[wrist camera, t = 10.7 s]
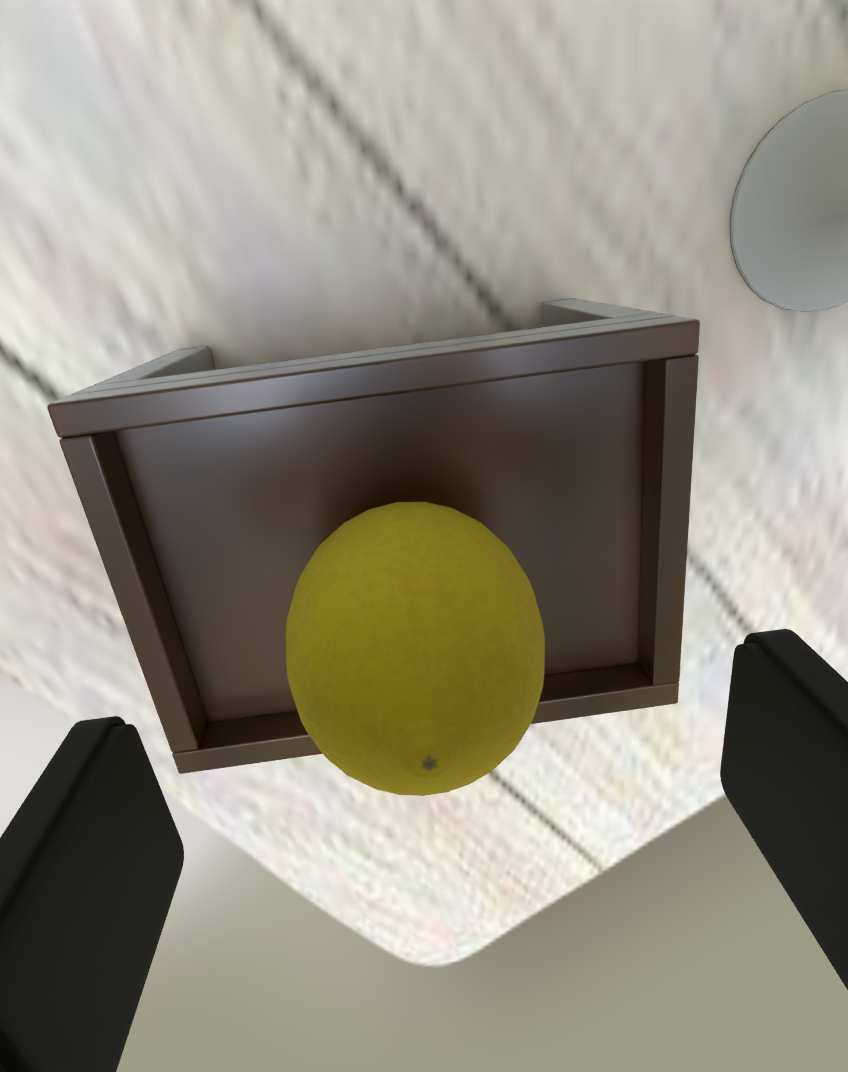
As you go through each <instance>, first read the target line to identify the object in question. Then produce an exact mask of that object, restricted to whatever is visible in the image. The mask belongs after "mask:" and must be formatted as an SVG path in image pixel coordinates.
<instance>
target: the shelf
mask: <svg viewBox="0 0 848 1072" xmlns="http://www.w3.org/2000/svg"><path fill="white" fill-rule="evenodd" d="M542 322H543V327H542V328H534V329H526V330H518V331H511V332H503V333H495V334H488V335H480V336H472V337H465V338H457V339H449V340H442V341H434V342H426V343H418V344H411V345H403V346H395V347H388V348H380V349H372V350H365V351H357V352H349V353H342V354H334V355H326V356H318V357H311V358H303V359H295V360H288V361H280V362H272V363H265V364H257V365H249V366H242V367H234V368H226V369H219V370H214V366H213V362H212V358H211V354H210V350H209V347H208V346H200V347H192V348H185V349H178V350H176V351H173V352H171V353H169V354H166V355H164V356H161V357H159V358H157V359H154V360H152V361H150V362H147V363H145V364H142V365H140V366H138V367H135V368H133V369H131V370H128V371H126V372H123V373H121V374H119V375H116V376H114V377H112V378H109V379H107V380H104V381H102V382H100V383H97V384H95V385H93V386H90V387H87V388H85V389H83V390H80V391H78V392H76V393H73V394H71V395H69V396H67V397H65V398H62V399H60V400H57V401H55V402H53V403H50V404H49V405H48V411H49V414H50V417H51V419H52V422H53V425H54V428H55V431H56V433H57V435H58V437H61V438H62V439H60V445H61V448H62V450H63V453H64V456H65V459H66V461H67V464H68V467H69V470H70V472H71V475H72V478H73V481H74V483H75V486H76V489H77V492H78V494H79V497H80V500H81V503H82V505H83V508H84V511H85V514H86V517H87V519H88V522H89V525H90V528H91V530H92V533H93V536H94V539H95V541H96V544H97V547H98V550H99V552H100V555H101V558H102V561H103V563H104V566H105V569H106V572H107V575H108V577H109V580H110V583H111V586H112V588H113V591H114V594H115V597H116V599H117V602H118V605H119V608H120V610H121V613H122V616H123V619H124V621H125V624H126V627H127V630H128V633H129V635H130V638H131V641H132V644H133V646H134V649H135V652H136V655H137V657H138V660H139V663H140V666H141V668H142V671H143V674H144V677H145V679H146V682H147V685H148V688H149V691H150V693H151V696H152V699H153V702H154V704H155V707H156V710H157V713H158V715H159V718H160V721H161V724H162V726H163V729H164V732H165V735H166V737H167V740H168V743H169V746H170V749H171V751H172V752H173V754H172V755H173V758H174V760H175V763H176V766H177V769H178V772H179V773H180V774H182V773H189V772H196V771H203V770H211V769H218V768H225V767H232V766H239V765H246V764H253V763H260V762H267V761H274V760H281V759H288V758H295V757H302V756H309V755H316V754H323V753H322V752H321V751H320V750H319V748H318V747H317V745H316V744H315V742H314V741H313V740H312V738H311V737H310V735H309V734H308V733H307V731H306V729H305V727H304V726H303V724H302V722H301V719H300V716H299V713H298V710H297V707H296V704H295V701H294V698H293V695H292V692H291V689H290V686H289V681H288V676H287V667H286V623H287V617H288V613H289V609H290V606H291V602H292V599H293V595H294V591H295V588H296V585H297V582H298V580H299V577H300V575H301V574H302V572H303V570H304V569H305V567H306V566H307V564H308V562H309V561H310V559H311V557H312V556H313V554H314V553H315V551H316V549H317V548H318V547H319V545H320V544H321V543H323V542H324V541H325V540H326V539H327V538H328V537H329V536H330V535H331V534H332V533H333V532H334V531H336V530H337V529H338V528H339V527H340V526H341V525H342V524H343V523H345V522H347V521H349V520H350V519H352V518H354V517H356V516H358V515H360V514H361V513H363V512H365V511H367V510H369V509H373V508H376V507H380V506H384V505H388V504H391V503H395V502H428V503H432V504H437V505H441V506H446V507H450V508H453V509H455V510H457V511H459V512H461V513H463V514H465V515H467V516H469V517H471V518H473V519H475V520H477V521H479V522H481V523H482V524H483V525H484V526H485V527H486V528H488V529H489V530H490V531H491V532H492V533H493V534H494V535H495V536H496V537H498V538H499V539H500V540H501V541H502V542H503V543H504V544H505V545H506V546H507V547H508V548H509V549H510V551H511V552H512V554H513V555H514V557H515V558H516V560H517V562H518V563H519V565H520V566H521V568H522V569H523V571H524V573H525V574H526V576H527V578H528V579H529V581H530V583H531V586H532V589H533V591H534V595H535V598H536V602H537V605H538V609H539V612H540V616H541V619H542V624H543V629H544V637H545V658H544V682H543V688H542V692H541V696H540V699H539V702H538V705H537V708H536V711H535V714H534V717H533V721H532V722H531V724H535V723H542V722H549V721H556V720H563V719H570V718H577V717H584V716H591V715H598V714H605V713H612V712H619V711H626V710H633V709H640V708H647V707H654V706H661V705H669V704H676V703H677V702H678V689H679V676H680V659H681V642H682V626H683V609H684V592H685V576H686V559H687V542H688V525H689V509H690V492H691V475H692V459H693V442H694V425H695V408H696V392H697V375H698V358H699V357H698V355H695V354H697V352H698V345H699V328H700V323H699V320H696V319H691V318H685V317H679V316H675V315H669V314H663V313H656V312H651V311H645V310H639V309H633V308H627V307H621V306H615V305H609V304H602V303H596V302H590V301H584V300H578V299H572V298H571V299H563V300H556V301H548V302H543V303H542Z"/></svg>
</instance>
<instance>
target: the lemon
mask: <svg viewBox="0 0 848 1072" xmlns="http://www.w3.org/2000/svg"><path fill="white" fill-rule="evenodd" d="M544 658H545V637H544V629H543V624H542V619H541V616H540V612H539V609H538V605H537V602H536V598H535V595H534V591H533V589H532V586H531V583H530V581H529V579H528V578H527V576H526V574H525V573H524V571H523V569H522V568H521V566H520V565H519V563H518V562H517V560H516V558H515V557H514V555H513V554H512V552H511V551H510V549H509V548H508V547H507V546H506V545H505V544H504V543H503V542H502V541H501V540H500V539H499V538H498V537H496V536H495V535H494V534H493V533H492V532H491V531H490V530H489V529H488V528H486V527H485V526H484V525H483V524H482V523H481V522H479V521H477V520H475V519H473V518H471V517H469V516H467V515H465V514H463V513H461V512H459V511H457V510H455V509H453V508H450V507H446V506H441V505H437V504H432V503H428V502H395V503H391V504H388V505H384V506H380V507H376V508H373V509H369V510H367V511H365V512H363V513H361V514H360V515H358V516H356V517H354V518H352V519H350V520H349V521H347V522H345V523H343V524H342V525H341V526H340V527H339V528H338V529H337V530H336V531H334V532H333V533H332V534H331V535H330V536H329V537H328V538H327V539H326V540H325V541H324V542H323V543H321V544H320V545H319V547H318V548H317V549H316V551H315V553H314V554H313V556H312V557H311V559H310V561H309V562H308V564H307V566H306V567H305V569H304V570H303V572H302V574H301V575H300V577H299V580H298V582H297V585H296V588H295V591H294V595H293V599H292V602H291V606H290V609H289V613H288V617H287V623H286V667H287V676H288V681H289V686H290V689H291V692H292V695H293V698H294V701H295V704H296V707H297V710H298V713H299V716H300V719H301V722H302V724H303V726H304V727H305V729H306V731H307V733H308V734H309V735H310V737H311V738H312V740H313V741H314V742H315V744H316V745H317V747H318V748H319V750H320V751H321V752H322V753H323V754H324V755H325V756H326V758H327V759H328V760H330V761H331V762H332V763H333V764H334V765H336V766H337V767H338V768H339V769H340V770H342V771H343V772H344V773H345V774H346V775H348V776H350V777H352V778H354V779H356V780H358V781H360V782H362V783H364V784H366V785H368V786H371V787H373V788H375V789H378V790H382V791H386V792H390V793H394V794H399V795H420V796H424V795H430V794H437V793H444V792H449V791H451V790H454V789H457V788H460V787H463V786H465V785H468V784H471V783H472V782H474V781H476V780H477V779H479V778H481V777H482V776H484V775H486V774H487V773H489V772H491V771H492V770H493V769H494V768H496V767H497V766H498V765H499V764H500V763H501V762H502V761H503V760H504V759H505V758H506V757H507V756H508V755H509V754H511V753H512V752H513V751H514V749H515V748H516V746H517V745H518V743H519V742H520V740H521V739H522V737H523V735H524V734H525V732H526V731H527V729H528V728H529V726H530V724H531V722H532V721H533V717H534V714H535V711H536V708H537V705H538V702H539V699H540V696H541V692H542V688H543V682H544Z"/></svg>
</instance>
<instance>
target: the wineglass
mask: <svg viewBox="0 0 848 1072" xmlns="http://www.w3.org/2000/svg"><path fill="white" fill-rule="evenodd" d="M730 222H731V246H732V250H733V253H734V257H735V261H736V264H737V268H738V269H739V271H740V273H741V274H742V276H743V278H744V280H745V281H746V283H747V285H748V286H749V287H750V288H751V289H752V290H753V291H754V292H755V293H756V294H758V295H759V296H760V297H761V298H762V299H763V300H765V301H767V302H769V303H771V304H773V305H775V306H778V307H780V308H782V309H789V310H796V311H804V312H808V311H816V310H824V309H829V308H832V307H834V306H837V305H840V304H842V303H845V302H848V90H840V91H833V92H831V93H828V94H826V95H823V96H821V97H818V98H816V99H813V100H811V101H808V102H806V103H804V104H802V105H801V106H800V107H798V108H797V109H795V110H794V111H793V112H791V113H790V114H788V115H787V116H785V117H784V118H783V119H781V120H780V121H779V122H778V124H777V125H776V126H775V127H774V128H773V129H772V130H771V131H770V132H769V133H768V134H767V135H766V136H765V137H764V139H763V140H762V141H761V142H760V144H759V145H758V147H757V149H756V150H755V152H754V153H753V155H752V157H751V158H750V160H749V161H748V163H747V165H746V166H745V169H744V171H743V174H742V177H741V179H740V182H739V184H738V187H737V189H736V192H735V197H734V202H733V208H732V213H731V219H730Z"/></svg>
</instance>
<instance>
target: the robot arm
mask: <svg viewBox="0 0 848 1072" xmlns="http://www.w3.org/2000/svg"><path fill="white" fill-rule="evenodd" d="M720 777H721V782H722V786H723V789H724V792H725V794H726V796H727V798H728V799H729V801H730V803H731V804H732V806H733V807H734V809H735V811H736V812H737V814H738V815H739V817H740V818H741V820H742V822H743V823H744V825H745V827H746V828H747V829H748V831H749V833H750V835H751V836H752V838H753V839H754V841H755V843H756V844H757V846H758V847H759V849H760V850H761V852H762V854H763V855H764V857H765V858H766V860H767V862H768V863H769V865H770V866H771V868H772V870H773V871H774V873H775V875H776V876H777V878H778V879H779V881H780V883H781V884H782V886H783V887H784V889H785V891H786V892H787V894H788V895H789V897H790V899H791V900H792V902H793V903H794V905H795V906H796V908H797V910H798V911H799V913H800V914H801V916H802V918H803V919H804V921H805V923H806V924H807V926H808V927H809V929H810V930H811V932H812V933H813V935H814V937H815V939H816V940H817V942H818V943H819V945H820V947H821V948H822V950H823V951H824V953H825V954H826V956H827V958H828V959H829V961H830V962H831V964H832V966H833V967H834V969H835V970H836V972H837V974H838V975H839V977H840V979H841V980H842V982H843V983H844V985H845V987H846V988H847V989H848V682H847V681H846V680H845V679H844V678H843V677H842V676H841V675H840V674H839V673H837V672H836V671H835V670H834V669H833V668H832V667H831V666H830V665H829V664H828V663H827V662H826V661H825V660H824V659H823V658H821V657H820V656H819V655H818V654H817V653H816V652H815V651H814V650H813V649H812V648H811V647H810V646H809V645H808V644H806V643H805V642H804V641H803V640H802V639H801V638H800V637H799V636H798V635H797V634H796V633H794V632H793V631H791V630H788V629H781V630H773V631H766V632H758V633H751V634H749V635H747V636H746V638H745V640H744V644H740V645H737V647H736V648H735V651H734V658H733V667H732V675H731V684H730V692H729V701H728V710H727V718H726V727H725V735H724V744H723V752H722V761H721V770H720ZM183 861H184V850H183V844H182V841H181V838H180V836H179V833H178V831H177V828H176V826H175V823H174V821H173V818H172V816H171V813H170V811H169V808H168V806H167V803H166V801H165V798H164V796H163V793H162V791H161V788H160V786H159V783H158V781H157V778H156V776H155V773H154V771H153V768H152V766H151V763H150V761H149V758H148V756H147V754H146V751H145V749H144V746H143V744H142V741H141V739H140V736H139V734H138V731H137V729H136V728H135V726H133V725H132V724H127V725H126V724H125V722H124V720H123V719H122V718H120V717H116V716H114V717H107V718H99V719H91V720H84V721H80V722H77V723H76V724H75V725H74V726H73V727H72V728H71V730H70V731H69V733H68V735H67V736H66V738H65V739H64V741H63V742H62V744H61V745H60V747H59V748H58V750H57V751H56V753H55V755H54V756H53V758H52V759H51V761H50V762H49V764H48V765H47V767H46V768H45V770H44V771H43V773H42V775H41V776H40V778H39V779H38V781H37V782H36V784H35V785H34V787H33V788H32V790H31V791H30V793H29V794H28V796H27V798H26V799H25V801H24V802H23V804H22V805H21V807H20V808H19V810H18V811H17V813H16V814H15V816H14V818H13V819H12V821H11V822H10V824H9V825H8V827H7V829H6V830H5V832H4V833H3V834H2V836H1V838H0V1072H116V1070H117V1067H118V1064H119V1061H120V1058H121V1055H122V1052H123V1049H124V1046H125V1043H126V1040H127V1037H128V1034H129V1030H130V1027H131V1024H132V1021H133V1018H134V1015H135V1012H136V1009H137V1006H138V1003H139V1000H140V997H141V994H142V991H143V987H144V984H145V981H146V978H147V975H148V972H149V969H150V966H151V963H152V960H153V957H154V954H155V951H156V948H157V944H158V941H159V938H160V935H161V932H162V929H163V926H164V923H165V920H166V917H167V914H168V911H169V908H170V904H171V901H172V898H173V895H174V892H175V889H176V886H177V883H178V880H179V877H180V874H181V870H182V867H183Z"/></svg>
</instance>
